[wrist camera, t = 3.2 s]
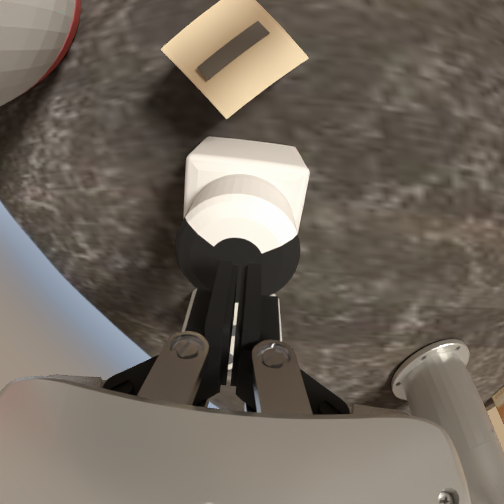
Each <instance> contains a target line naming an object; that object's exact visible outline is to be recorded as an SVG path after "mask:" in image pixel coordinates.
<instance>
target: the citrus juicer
mask: <svg viewBox="0 0 504 504" xmlns="http://www.w3.org/2000/svg"><path fill="white" fill-rule="evenodd" d="M80 12H81V3H80V0H0V106H2V105H4V104H5V103H7V102H9V101H11V100H13V99H14V98H16V97H18V96H20V95H22V94H24V93H26V92H27V91H29V90H30V89H31V88H32V87H34V86H35V85H36V84H38V83H39V82H40V81H42V80H43V79H44V78H45V77H47V76H48V75H49V74H50V73H51V72H52V71H53V70H54V69H55V68H56V67H57V65H58V64H59V63H60V61H61V60H62V59H63V57H64V56H65V54H66V52H67V51H68V49H69V47H70V45H71V43H72V41H73V38H74V36H75V34H76V30H77V27H78V24H79V18H80Z"/></svg>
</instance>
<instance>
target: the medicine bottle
mask: <svg viewBox="0 0 504 504" xmlns="http://www.w3.org/2000/svg"><path fill="white" fill-rule="evenodd" d="M309 174H310V173H309V169H308V168H307V166H306V164H305V162H304V161H303V159H302V157H301V156H300V154H299V152H298V151H297V149H296V148H295V147H293V146H287V145H280V144H273V143H265V142H257V141H249V140H240V139H231V138H221V137H207V138H205V139H204V140H203V141H202V142H201V143H200V144H199V145H198V146H197V147H196V148H195V149H194V150H193V151H192V152H191V153H190V154H189V155H188V156H187V158H186V170H185V191H184V219H183V221H182V223H181V225H180V227H179V229H178V232H177V236H176V243H175V249H176V257H177V261H178V263H179V266H180V268H181V270H182V272H183V273H184V275H185V276H186V278H187V279H188V280H189V281H190V282H191V283H192V284H193V285H194V286H195V287H196V288H197V289H198V288H199V289H208V290H213V287H214V283H215V278H216V274H217V270H218V265H219V261H220V259H226V260H233V264H238V275H237V286H236V298H235V303H239V293H240V284H241V275H242V266H243V265H248V262H255V263H262V273H261V295H267V296H270V295H272V294H274V293H276V292H277V291H279V290H280V289H281V288H282V287H284V286H285V285H286V284H287V283H288V281H289V280H290V279H291V278H292V276H293V274H294V272H295V271H296V268H297V266H298V262H299V258H300V242H299V238H298V230H299V225H300V220H301V215H302V210H303V205H304V200H305V195H306V190H307V185H308V179H309Z"/></svg>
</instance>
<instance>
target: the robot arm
mask: <svg viewBox="0 0 504 504" xmlns="http://www.w3.org/2000/svg"><path fill="white" fill-rule="evenodd" d="M261 273H262V263H255V262H248V265H243V266H242V275H241V284H240V293H239V303H238V312H237V321H236V331H235V342H234V353H233V365H232V376H231V386H236V395H237V396H238V397H239V398H240V399H241V400H243V401H244V411H233V410H224V409H215V408H207V406H208V403H209V398H210V397H212V396H214V395H215V394H217V393H218V392H219V393H220V385H226V381H227V373H228V364H229V355H230V346H231V338H232V329H233V321H234V310H235V298H236V286H237V275H238V264H233V260H226V259H220V261H219V265H218V270H217V274H216V278H215V283H214V287H213V290H208V289H199V288H198V289H197V291H196V294H195V298H194V301H193V305H192V308H191V311H190V315H189V318H188V322H187V325H186V329H185V331H181V332H178V333H175V334H173V335H172V336H170V337H169V339H168V340H167V341H166V343H165V345H164V347H163V349H162V350H161V352H160V354H159V355H157V356H155V357H153V358H151V359H149V360H147V361H145V362H143V363H140V364H138V365H136V366H134V367H132V368H129V369H127V370H125V371H123V372H121V373H118V374H116V375H114V376H112V377H111V378H109V379H108V380H102V379H101V377H82V376H68V375H50V376H47V377H43V376H35V377H24V378H19V379H16V380H14V381H11V382H10V383H9V384H7V385H6V386H5V387H4V388H3V389H2V390H1V391H0V504H504V452H503V450H502V447H501V444H500V442H499V439H498V437H497V435H496V432H495V430H494V427H493V425H492V422H491V420H490V418H489V415H488V413H487V411H486V408H485V406H484V404H483V402H482V400H481V397H480V395H479V393H478V391H477V389H476V387H475V385H474V383H473V381H472V379H471V377H470V375H469V373H468V371H467V369H466V365H467V363H468V360H469V350H468V348H467V346H466V344H465V343H464V342H462V341H460V340H457V339H447V340H442V341H439V342H436V343H433V344H431V345H429V346H426V347H425V348H423V349H421V350H419V351H418V352H416V353H415V354H413V355H412V356H411V357H409V358H408V359H407V360H406V361H405V362H404V363H403V364H402V365H401V366H400V367H399V368H398V370H397V371H396V372H395V374H394V376H393V378H392V382H391V387H392V390H393V393H394V395H395V396H396V397H398V398H400V399H404V400H407V401H408V404H409V407H410V410H411V413H412V416H411V415H409V414H408V413H406V412H404V411H401V410H393V409H385V408H378V407H371V406H365V405H359V404H354V405H353V406H347V404H346V403H345V402H344V401H343V400H342V399H340V398H339V397H337V396H336V395H335V394H333V393H332V392H331V391H329V390H328V389H326V388H325V387H324V386H322V385H321V384H320V383H318V382H317V381H316V380H314V379H313V378H311V377H310V376H309V375H307V374H306V373H305V372H303V371H302V370H301V369H299V365H298V362H297V358H296V355H295V353H294V351H293V349H292V348H291V347H290V346H289V345H287V344H286V343H284V342H281V341H280V324H279V306H278V297H277V296H267V295H261Z"/></svg>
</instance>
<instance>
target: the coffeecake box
mask: <svg viewBox="0 0 504 504" xmlns="http://www.w3.org/2000/svg"><path fill="white" fill-rule="evenodd" d="M492 399H493V401H494V403H495V406H496V408H497V410H498V412H499V414H500V417H501V419H502V421H503V424H504V386H503V387H502V388H501V389H500V390H499V391H498V392H497V393H496V394H494V395H493V396H492Z"/></svg>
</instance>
